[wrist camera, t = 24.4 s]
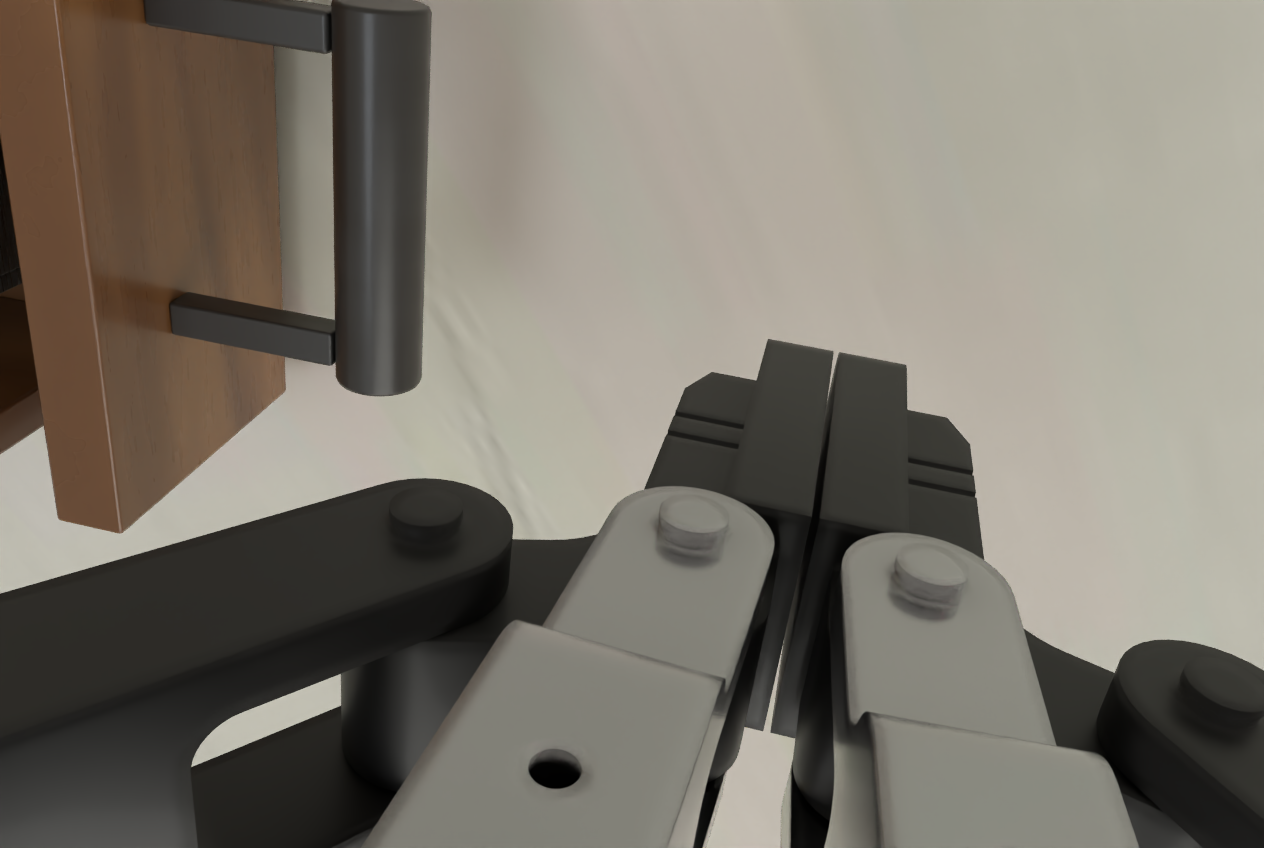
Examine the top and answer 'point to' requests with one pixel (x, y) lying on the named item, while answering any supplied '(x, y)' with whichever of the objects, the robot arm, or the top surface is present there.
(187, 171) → the drawer
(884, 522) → the robot arm
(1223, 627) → the top surface
